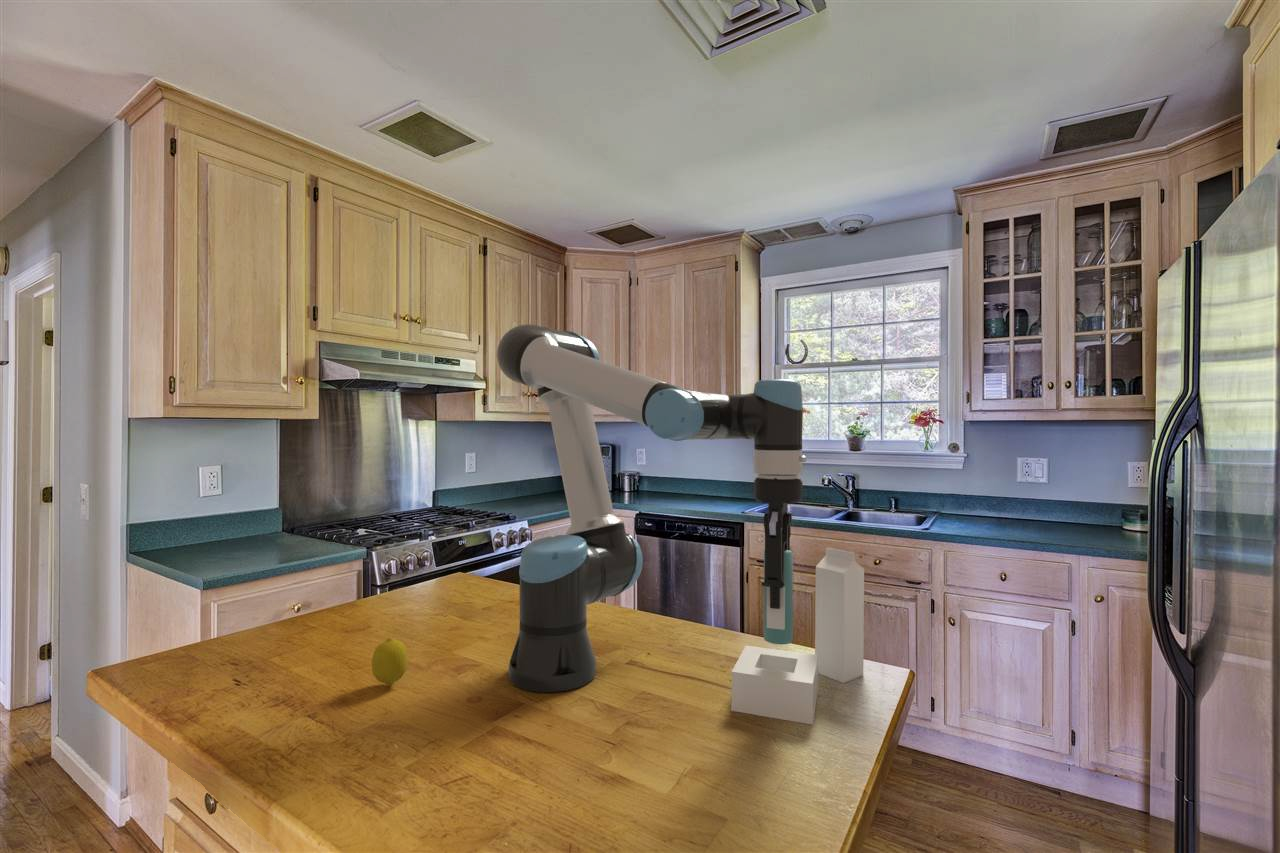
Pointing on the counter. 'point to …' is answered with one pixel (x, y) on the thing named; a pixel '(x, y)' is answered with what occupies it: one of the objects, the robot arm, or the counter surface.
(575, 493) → the robot arm
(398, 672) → the lemon
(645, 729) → the counter surface
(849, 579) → the milk
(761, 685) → the socket
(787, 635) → the peg
